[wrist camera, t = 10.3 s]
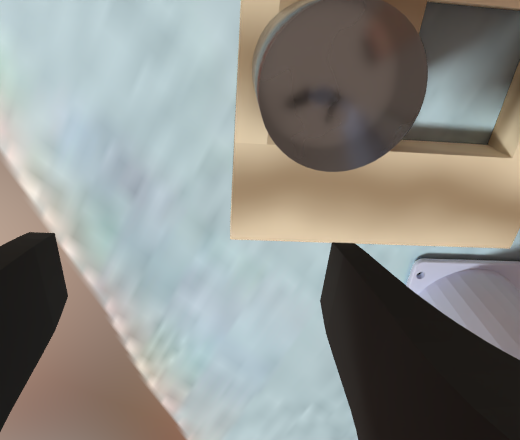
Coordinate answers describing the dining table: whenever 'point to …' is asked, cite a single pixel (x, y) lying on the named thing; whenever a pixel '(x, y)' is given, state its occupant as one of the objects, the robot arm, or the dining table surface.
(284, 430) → the dining table surface
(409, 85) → the keyhole peg
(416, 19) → the keyhole plate
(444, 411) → the robot arm
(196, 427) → the dining table surface
